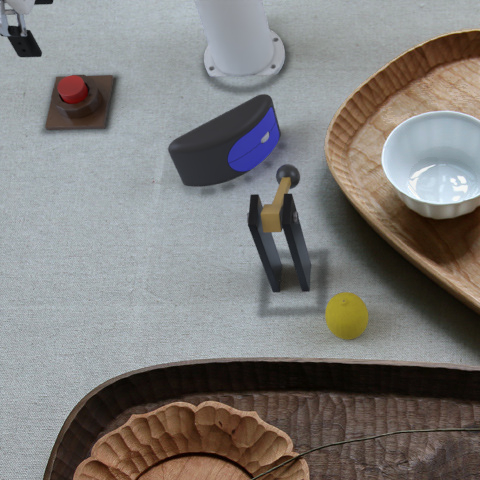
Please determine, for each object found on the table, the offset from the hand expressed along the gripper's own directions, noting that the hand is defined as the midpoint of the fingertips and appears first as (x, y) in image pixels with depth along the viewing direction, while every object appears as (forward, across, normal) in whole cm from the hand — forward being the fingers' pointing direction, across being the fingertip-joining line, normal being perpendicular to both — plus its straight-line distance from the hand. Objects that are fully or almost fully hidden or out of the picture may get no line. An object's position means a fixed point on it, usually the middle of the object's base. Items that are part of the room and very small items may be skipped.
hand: (36, 28), depth 111 cm
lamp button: (+13, +1, 0) cm, 13 cm away
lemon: (+14, -40, -42) cm, 60 cm away
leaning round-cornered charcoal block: (+15, -12, -25) cm, 31 cm away
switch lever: (+4, -28, -34) cm, 44 cm away
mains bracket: (+14, -32, -34) cm, 49 cm away
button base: (+15, +1, 0) cm, 15 cm away
